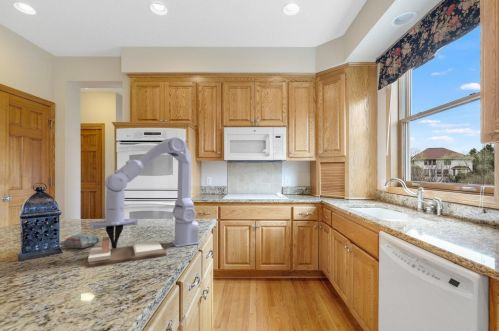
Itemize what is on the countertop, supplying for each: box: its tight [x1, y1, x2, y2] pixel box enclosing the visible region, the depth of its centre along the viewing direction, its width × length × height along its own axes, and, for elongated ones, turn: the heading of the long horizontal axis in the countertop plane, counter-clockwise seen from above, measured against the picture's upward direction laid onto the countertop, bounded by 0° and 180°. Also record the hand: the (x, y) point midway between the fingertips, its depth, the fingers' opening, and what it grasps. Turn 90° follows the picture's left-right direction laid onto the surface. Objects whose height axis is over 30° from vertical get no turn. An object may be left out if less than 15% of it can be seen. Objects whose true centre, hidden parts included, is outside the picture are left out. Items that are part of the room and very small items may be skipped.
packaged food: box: [59, 233, 102, 250], centre depth 95 cm, size 9×12×5 cm
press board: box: [88, 242, 167, 268], centre depth 87 cm, size 23×14×1 cm, turn 119°
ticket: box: [132, 240, 164, 256], centre depth 90 cm, size 9×11×1 cm
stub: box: [87, 236, 112, 263], centre depth 82 cm, size 6×11×5 cm, turn 29°
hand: (114, 247), depth 84 cm, fingers closed
